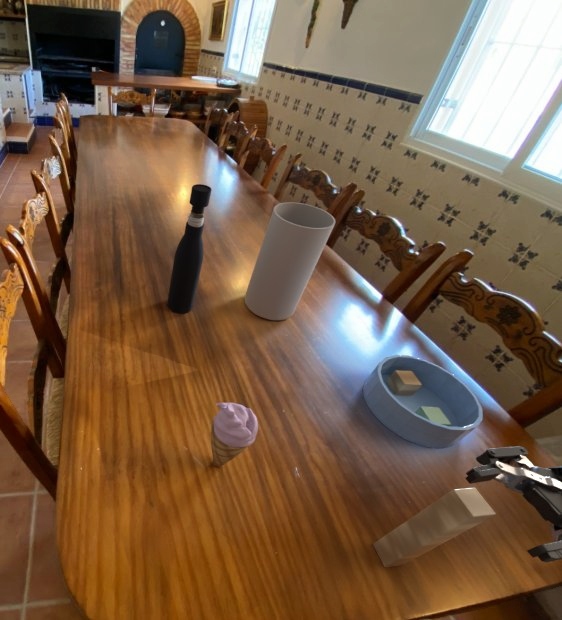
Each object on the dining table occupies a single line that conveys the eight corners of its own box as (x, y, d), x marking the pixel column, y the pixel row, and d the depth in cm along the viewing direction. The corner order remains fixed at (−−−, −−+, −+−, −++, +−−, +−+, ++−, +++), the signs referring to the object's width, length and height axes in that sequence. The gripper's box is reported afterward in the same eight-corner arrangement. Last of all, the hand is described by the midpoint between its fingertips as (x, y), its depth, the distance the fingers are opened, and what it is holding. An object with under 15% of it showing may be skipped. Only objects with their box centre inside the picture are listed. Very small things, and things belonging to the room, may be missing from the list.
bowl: (482, 450, 64) (507, 432, 60) (390, 446, 63) (409, 427, 59) (425, 376, 76) (442, 357, 72) (348, 372, 76) (361, 352, 72)
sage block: (439, 435, 65) (451, 424, 63) (420, 434, 65) (432, 423, 62) (427, 418, 67) (439, 407, 65) (409, 417, 67) (420, 406, 65)
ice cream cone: (191, 447, 60) (209, 393, 51) (224, 438, 62) (247, 384, 52) (209, 486, 56) (232, 434, 46) (244, 475, 57) (273, 423, 48)
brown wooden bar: (402, 565, 49) (497, 514, 37) (384, 567, 49) (473, 516, 37) (389, 542, 51) (475, 487, 40) (372, 544, 51) (452, 489, 39)
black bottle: (188, 316, 86) (214, 196, 67) (163, 309, 88) (181, 190, 68) (195, 301, 91) (221, 185, 71) (171, 294, 92) (190, 179, 73)
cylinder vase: (266, 286, 98) (299, 198, 82) (303, 312, 90) (347, 221, 74) (233, 299, 93) (261, 208, 76) (270, 328, 85) (309, 234, 69)
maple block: (412, 395, 71) (422, 384, 69) (395, 395, 71) (404, 384, 69) (402, 381, 74) (411, 370, 72) (386, 381, 74) (395, 370, 72)
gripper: (638, 565, 44) (533, 590, 41) (526, 456, 55) (436, 469, 52) (705, 545, 39) (590, 571, 37) (567, 429, 50) (471, 443, 47)
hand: (500, 511), depth 44 cm, fingers open, 8 cm apart
